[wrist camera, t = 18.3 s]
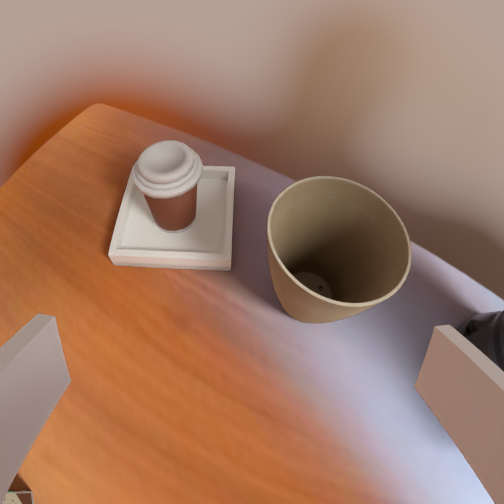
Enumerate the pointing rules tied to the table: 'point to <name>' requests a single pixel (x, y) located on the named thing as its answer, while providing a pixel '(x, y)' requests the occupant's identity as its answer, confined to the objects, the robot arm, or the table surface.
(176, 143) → the coffee cup
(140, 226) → the tray
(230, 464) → the table surface
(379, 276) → the plant pot
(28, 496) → the food container
